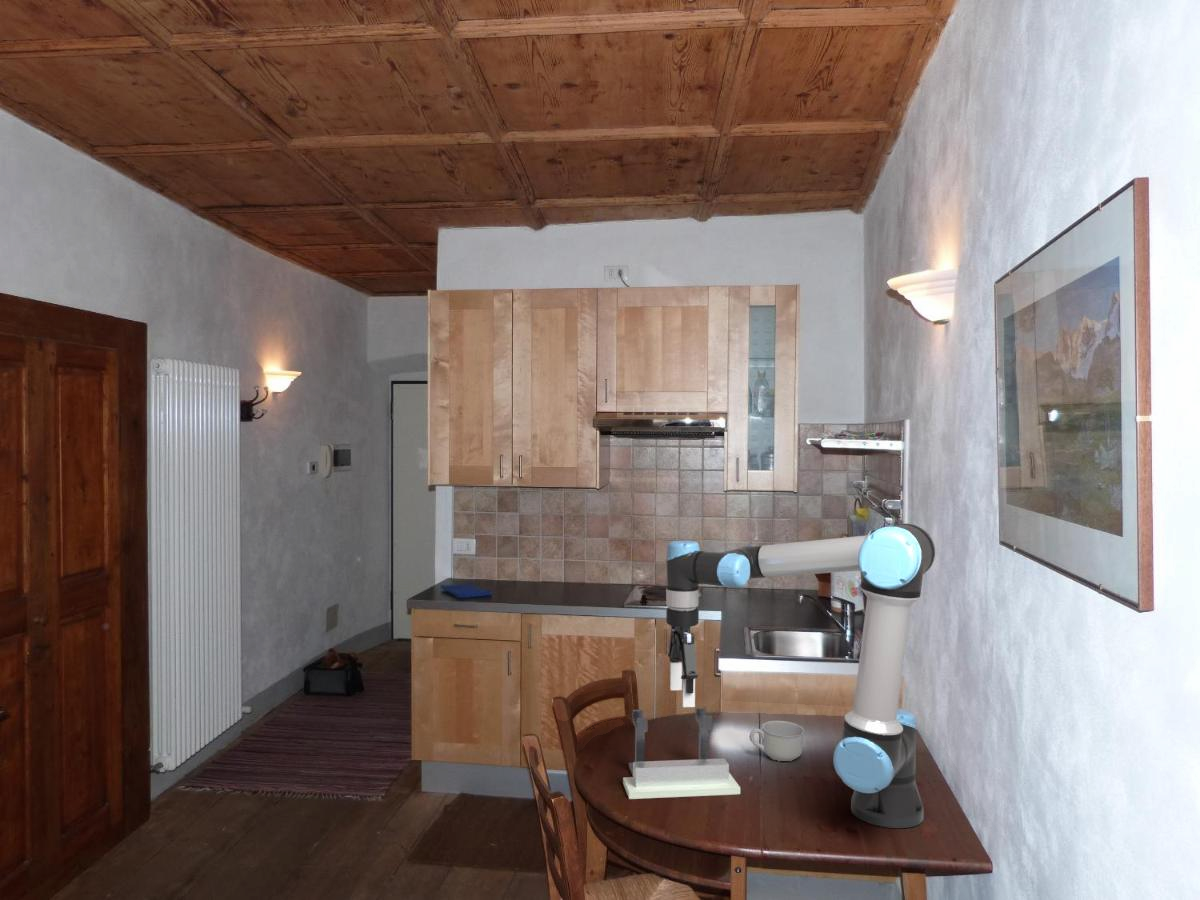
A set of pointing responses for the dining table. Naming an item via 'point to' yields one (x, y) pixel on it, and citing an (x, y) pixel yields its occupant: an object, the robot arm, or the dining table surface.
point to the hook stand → (642, 727)
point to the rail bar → (680, 772)
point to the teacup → (780, 740)
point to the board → (680, 790)
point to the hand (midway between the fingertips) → (682, 698)
